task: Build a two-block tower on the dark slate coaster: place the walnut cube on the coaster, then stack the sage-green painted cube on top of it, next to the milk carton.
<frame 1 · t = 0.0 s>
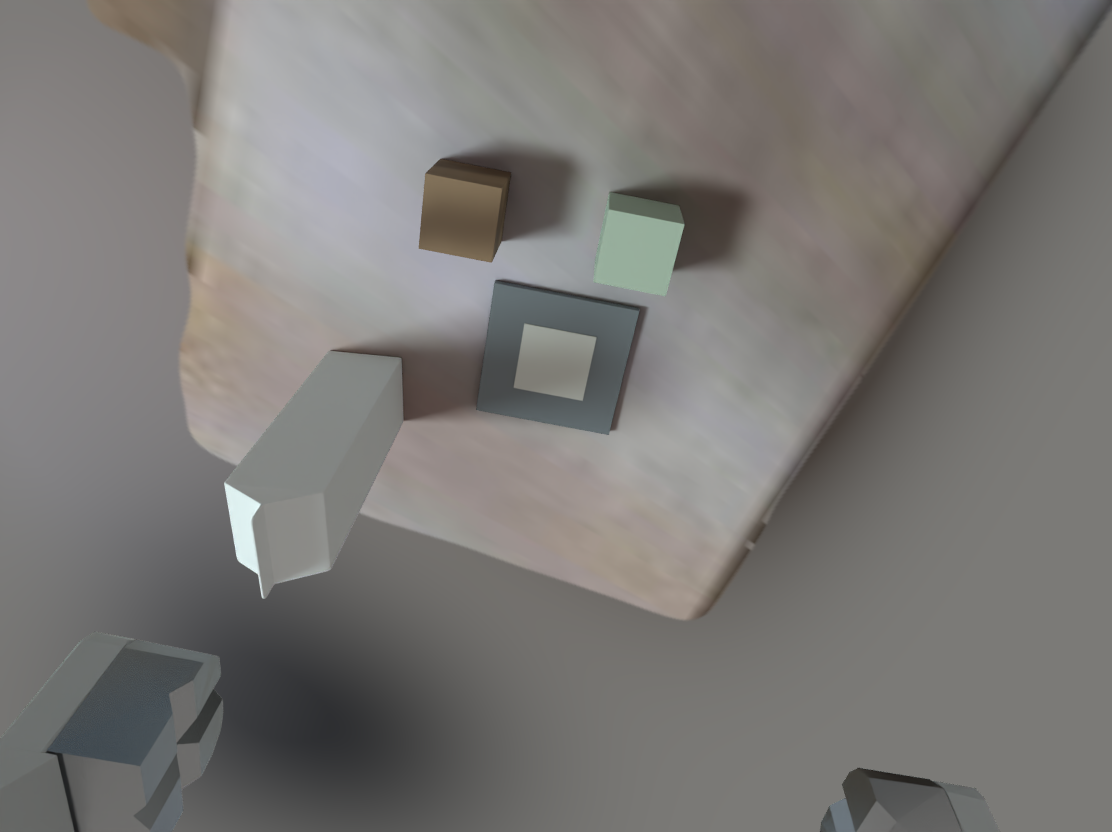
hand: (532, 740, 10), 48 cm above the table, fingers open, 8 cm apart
green block: (636, 233, 55), on the table
coaster: (554, 359, 60), on the table
milk: (367, 385, 63), on the table
walnut block: (471, 200, 55), on the table
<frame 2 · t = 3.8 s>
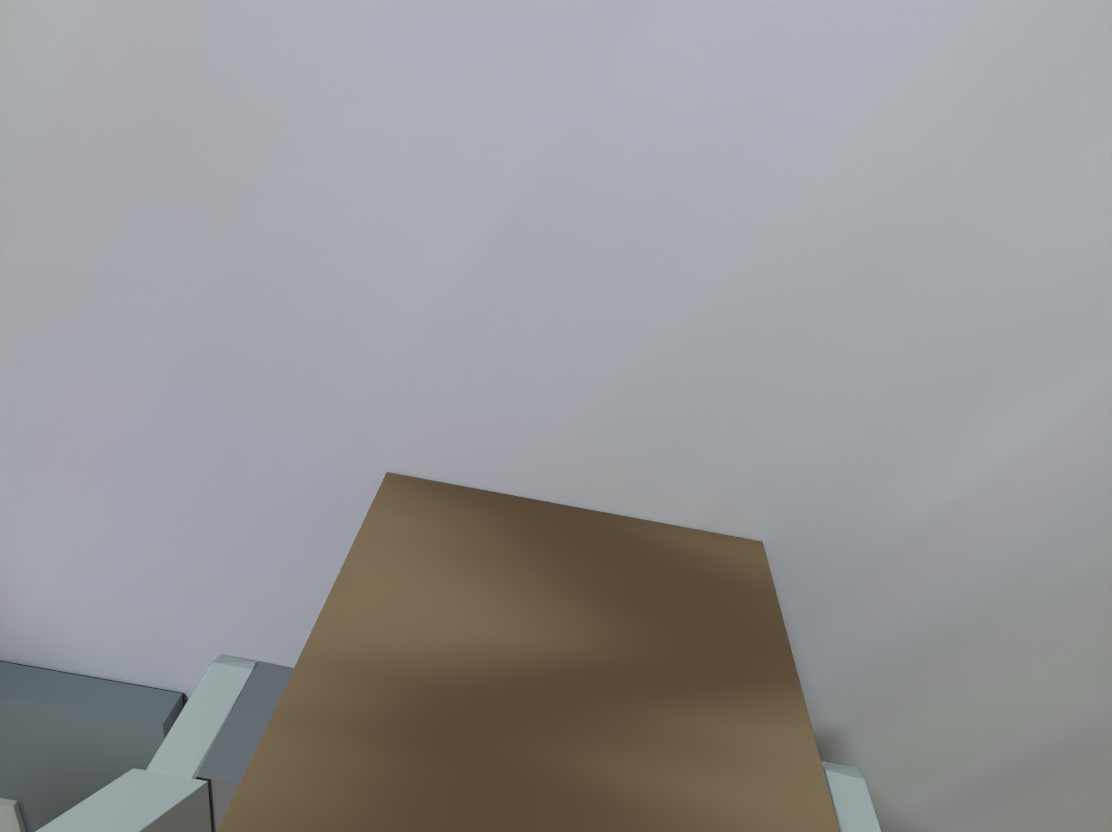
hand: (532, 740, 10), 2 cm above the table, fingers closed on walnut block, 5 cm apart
walnut block: (543, 642, 11), on the table, touching gripper
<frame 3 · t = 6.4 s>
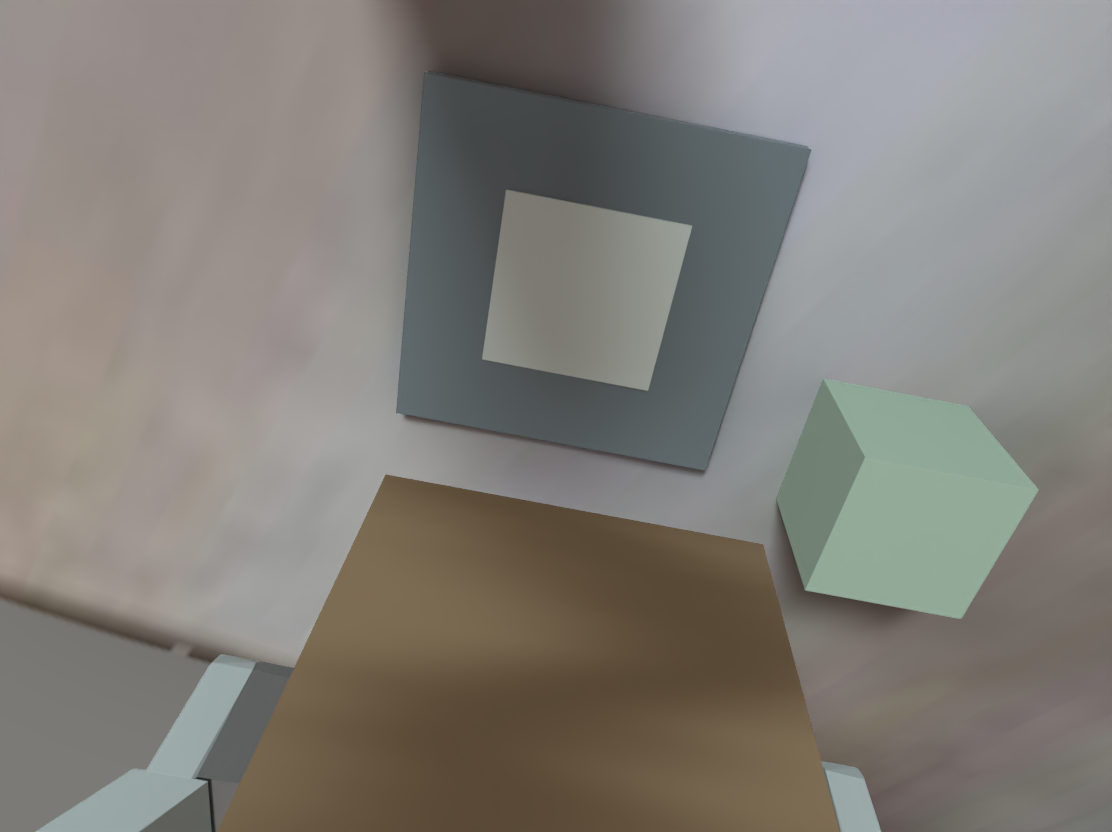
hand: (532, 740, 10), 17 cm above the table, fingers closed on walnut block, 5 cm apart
green block: (867, 452, 27), on the table
coaster: (582, 288, 24), on the table
walnut block: (543, 645, 11), point 15 cm above the table, touching gripper
when the fingers open (3 cm above the table, at t = 9.2 s): walnut block stays where it is, resting on coaster.
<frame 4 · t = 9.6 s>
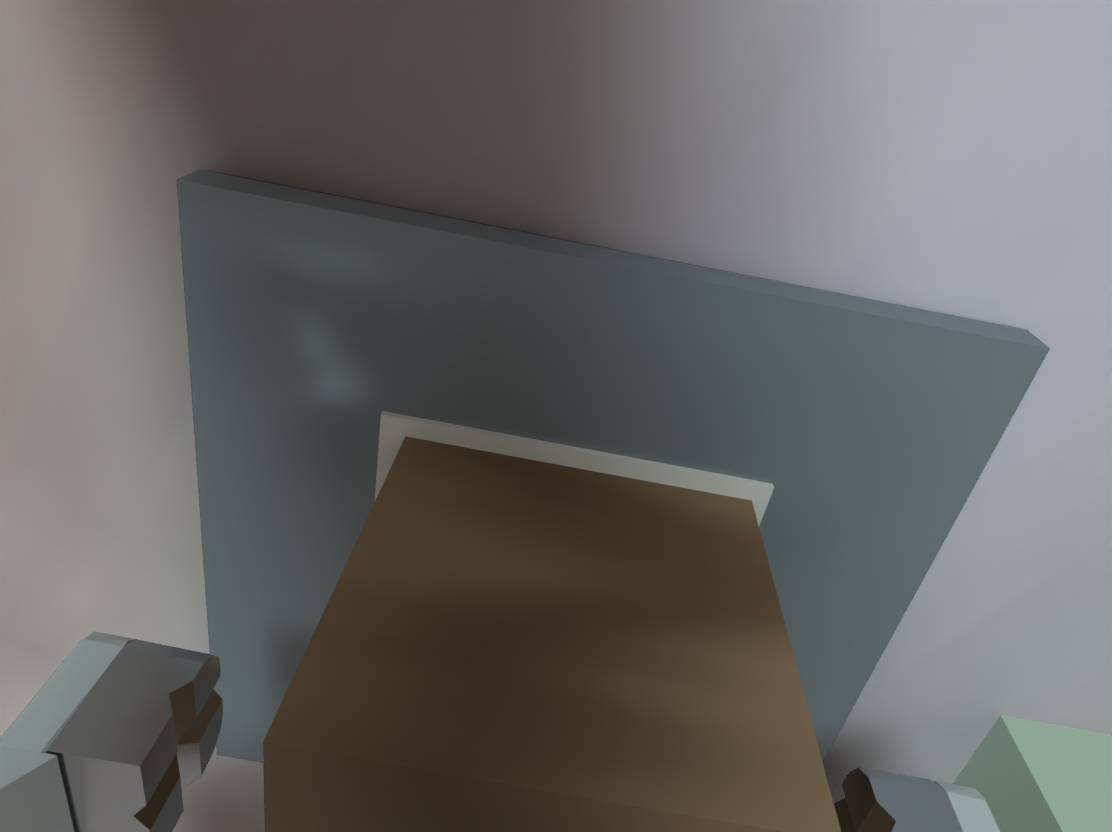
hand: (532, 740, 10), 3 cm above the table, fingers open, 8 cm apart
green block: (1062, 817, 15), on the table
coaster: (548, 569, 13), on the table
walnut block: (549, 598, 12), point 1 cm above the table, touching coaster
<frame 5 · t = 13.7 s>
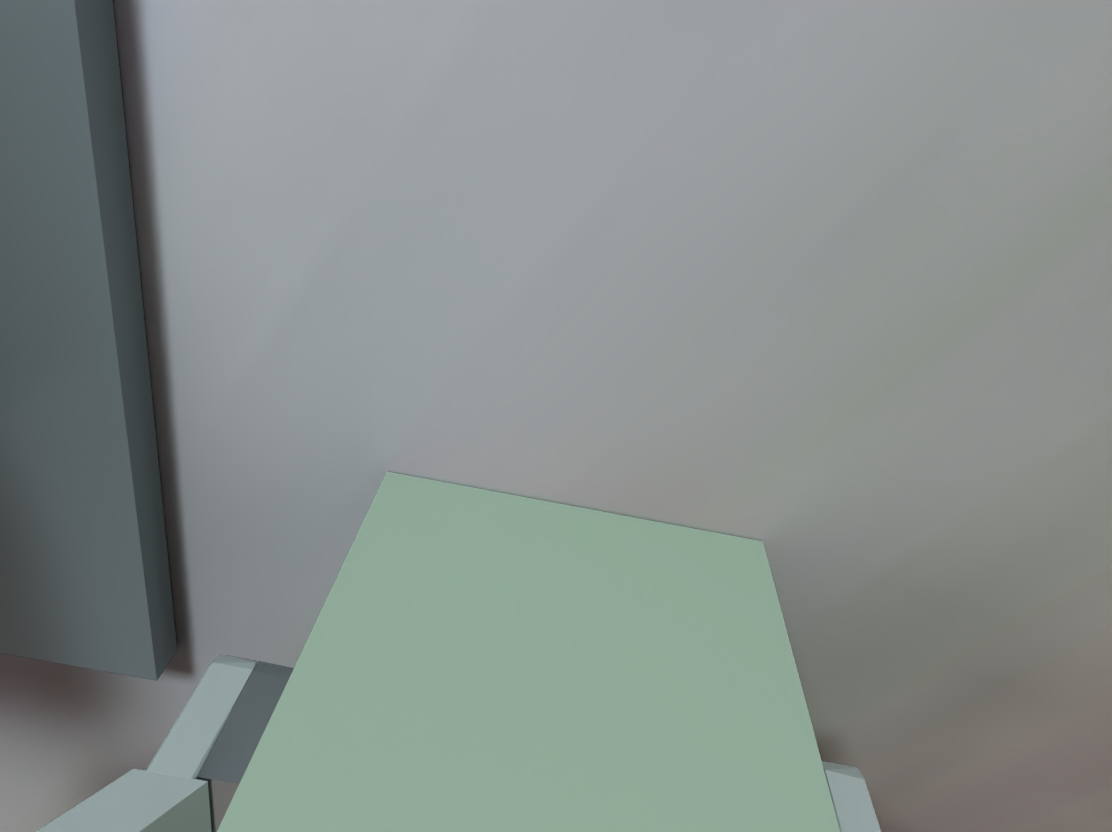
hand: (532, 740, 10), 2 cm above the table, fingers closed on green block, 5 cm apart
green block: (544, 642, 11), on the table, touching gripper
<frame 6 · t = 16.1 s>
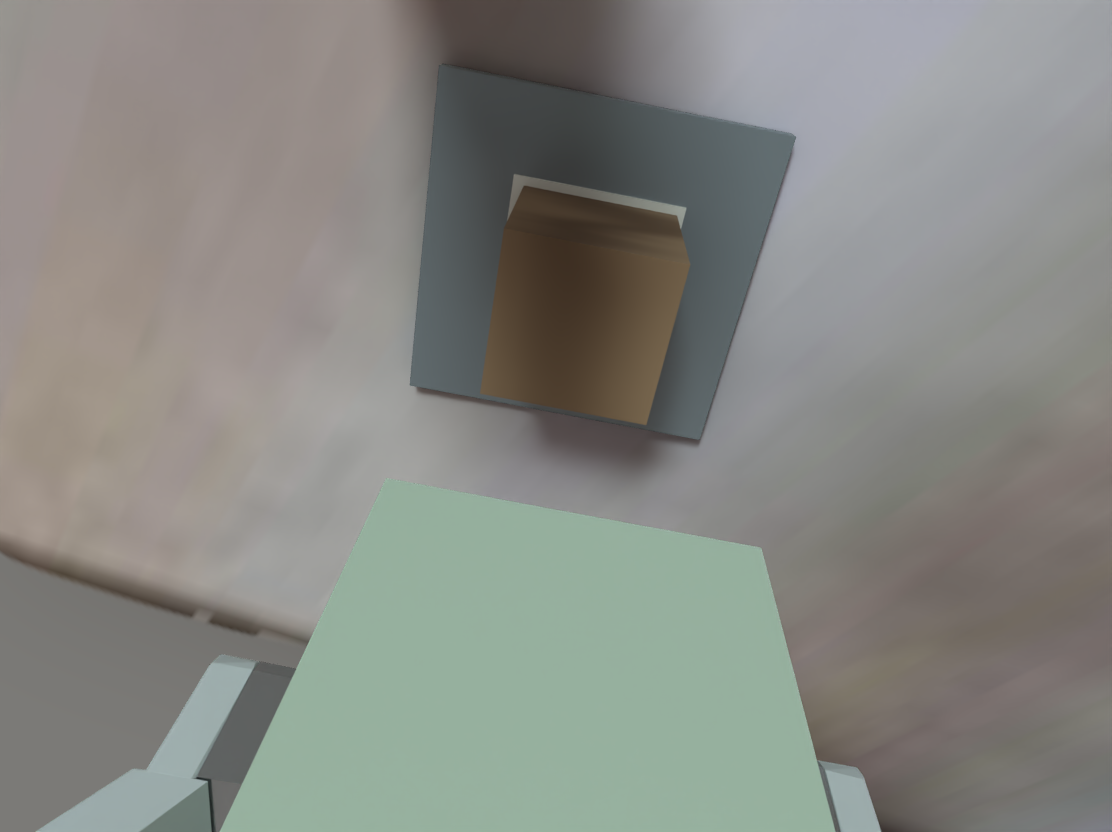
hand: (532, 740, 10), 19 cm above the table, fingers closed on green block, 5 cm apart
green block: (543, 647, 11), point 17 cm above the table, touching gripper
coaster: (584, 267, 26), on the table
walnut block: (585, 274, 26), point 1 cm above the table, touching coaster
when the fingers open (8 cm above the table, at t = 18.9 s): green block drops 1 cm, resting on walnut block.
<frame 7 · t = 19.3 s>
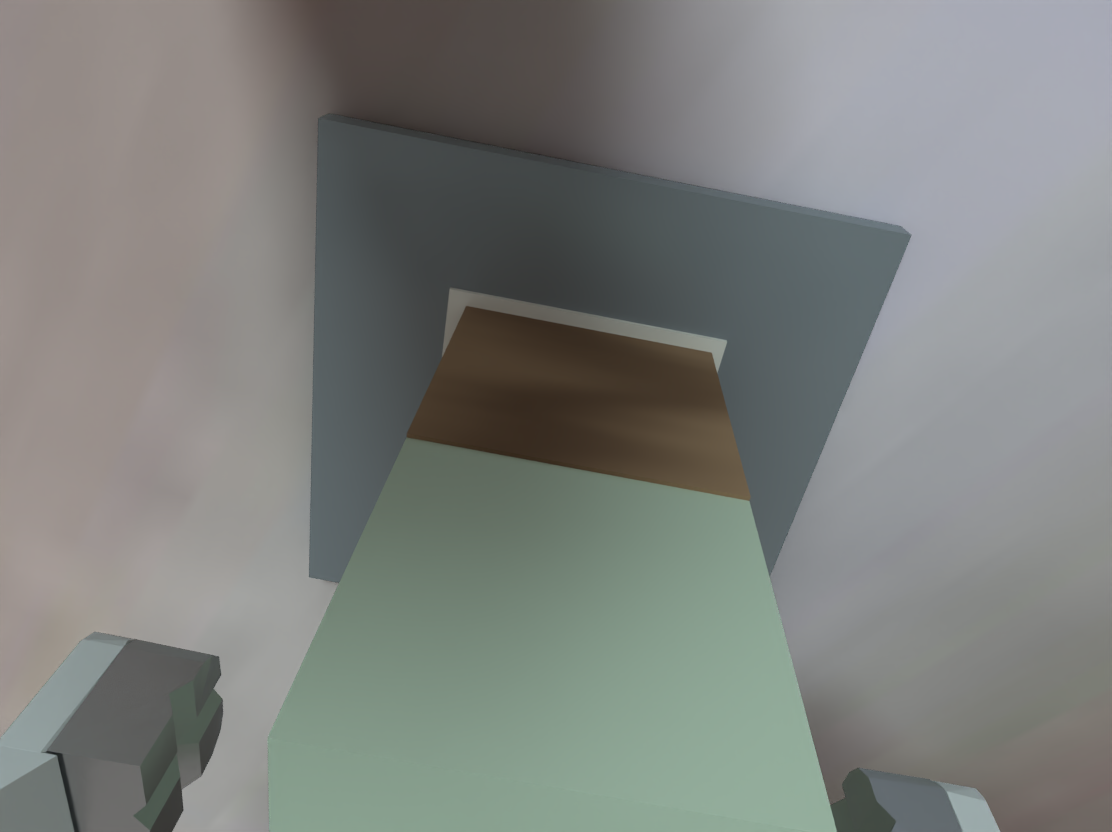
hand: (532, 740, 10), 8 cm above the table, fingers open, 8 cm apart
green block: (549, 597, 12), point 6 cm above the table, touching walnut block
coaster: (565, 418, 17), on the table
walnut block: (566, 434, 16), point 1 cm above the table, touching coaster, green block
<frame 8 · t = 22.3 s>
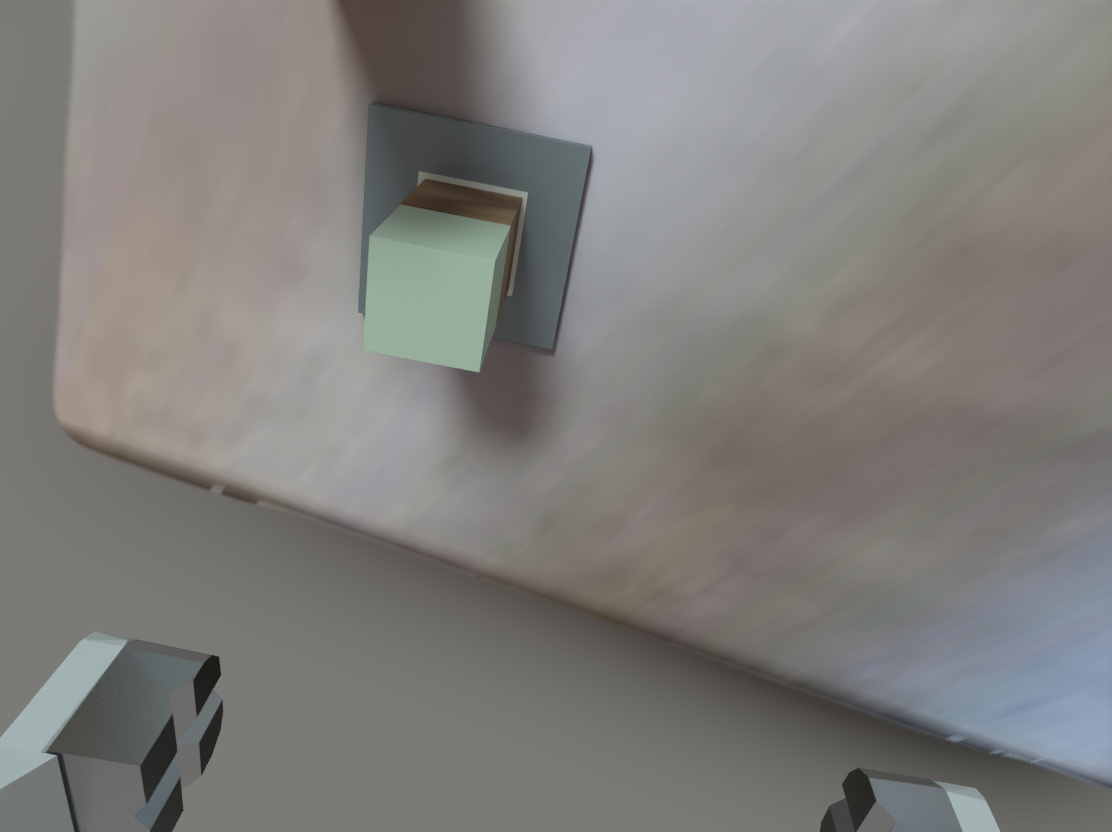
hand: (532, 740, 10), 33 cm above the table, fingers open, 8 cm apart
green block: (449, 267, 35), point 6 cm above the table, touching walnut block
coaster: (469, 232, 40), on the table
walnut block: (468, 236, 40), point 1 cm above the table, touching coaster, green block
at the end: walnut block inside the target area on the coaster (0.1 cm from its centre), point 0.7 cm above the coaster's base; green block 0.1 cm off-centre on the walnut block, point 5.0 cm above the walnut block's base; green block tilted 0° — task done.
